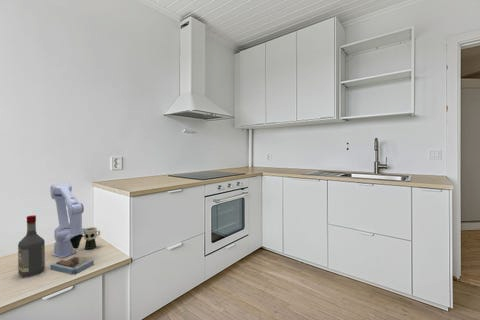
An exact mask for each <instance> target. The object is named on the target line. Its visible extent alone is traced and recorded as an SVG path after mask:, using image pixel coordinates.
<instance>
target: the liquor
mask: <svg viewBox="0 0 480 320" xmlns="http://www.w3.org/2000/svg"><path fill="white" fill-rule="evenodd" d="M36 225H37V215H35V214H34V215H33V214H32V215H28V216H26V227H27V228H26V235H25V236H24V237H23V238H21V240H20V241H19V242H18V244H17V250H18V251H17V252H18V253H17V254H18V257H17V259H18V260H17V262H18V264H17V265H18V274H19V275H20V276H21V277H22V278H31V277H33V276H36V275H39V274H41V273H42V272H44V270H45V268H46V261H45V260H46V259H45V257H46V255H45V254H46V252H45V251H46V250H45V249H46V248H45V245H46V244H45V243H46V242H45V241H46V240H45V239H44V238H43V237H41V236H40V235H39V234H38V233H37V227H36Z"/></svg>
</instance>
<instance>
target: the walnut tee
mask: <svg viewBox="0 0 480 320" xmlns="http://www.w3.org/2000/svg"><path fill="white" fill-rule="evenodd" d="M79 259H80V258H79V257H77V256H74V257H71V258H69V259H67V260H65V259H61V260H59V261H56V263H55V264H58V265H63V266H67V267H72V268H75V266H77V265H79V263H80V260H79Z"/></svg>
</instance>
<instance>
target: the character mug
mask: <svg viewBox="0 0 480 320" xmlns="http://www.w3.org/2000/svg"><path fill="white" fill-rule="evenodd" d="M98 236H101V230H98V227H95V226H90V227H86V228H85V232H84V233H83V237H82V238H83V239H84V240H85V243H84V244H85V245H84V249H85V250H89V249H90V250H92V249H95V248H96V247H97V244H96V238H97V237H98Z"/></svg>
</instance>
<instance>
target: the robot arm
mask: <svg viewBox="0 0 480 320" xmlns="http://www.w3.org/2000/svg"><path fill="white" fill-rule="evenodd" d="M72 187H73V186H72V184H71V183H70V182H69V183H61V184H51V186H50V191H49V192H50V197H51V199H52V200H54V202H55V205H56V210H57V218H58V226H57V227H56V228H55V229H54V235H53V237H54V240H55V242H54V245H53V254H52V256H53V257H58V258H66V257H69V256H71V255H74V254H76V253H77V251H75V250H76V249H77V250H78V248H79V246H80V244H81V240H82V238H84V237H83V236H84V234H83V233H84V232H85V229H86V228H84V227H83V216H82V215H83V213H84V211H85V210H84V209H85V207H84V204H83V203H81V202H79V201H78V199H77V197H76V196H73V194H72V191H73V188H72ZM73 249H75V250H73Z"/></svg>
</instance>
